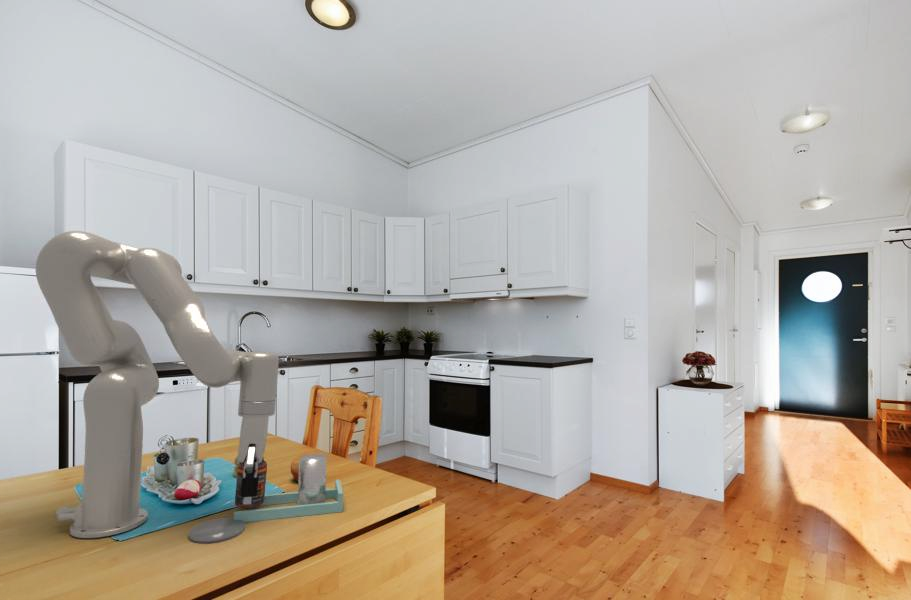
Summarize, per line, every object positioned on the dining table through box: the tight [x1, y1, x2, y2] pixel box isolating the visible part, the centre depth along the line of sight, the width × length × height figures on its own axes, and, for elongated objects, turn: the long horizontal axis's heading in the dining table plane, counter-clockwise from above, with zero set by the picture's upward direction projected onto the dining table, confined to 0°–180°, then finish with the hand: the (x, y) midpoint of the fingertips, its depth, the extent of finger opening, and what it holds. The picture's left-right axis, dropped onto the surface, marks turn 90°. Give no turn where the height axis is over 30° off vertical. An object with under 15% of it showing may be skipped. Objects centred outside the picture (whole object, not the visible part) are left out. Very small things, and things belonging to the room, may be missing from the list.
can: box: [297, 453, 328, 505], centre depth 105 cm, size 6×6×11 cm
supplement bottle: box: [234, 450, 268, 510], centre depth 101 cm, size 6×6×11 cm
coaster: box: [187, 517, 246, 544], centre depth 91 cm, size 10×10×1 cm
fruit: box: [290, 452, 317, 482], centre depth 123 cm, size 8×8×8 cm
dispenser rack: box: [233, 479, 344, 523], centre depth 103 cm, size 22×10×4 cm, turn 108°
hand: (250, 490), depth 101 cm, fingers closed on supplement bottle, 6 cm apart
